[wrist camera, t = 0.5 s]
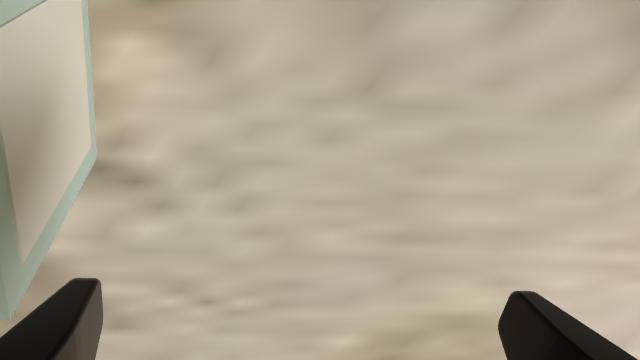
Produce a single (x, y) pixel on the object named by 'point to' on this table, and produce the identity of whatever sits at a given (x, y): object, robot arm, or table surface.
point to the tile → (41, 131)
